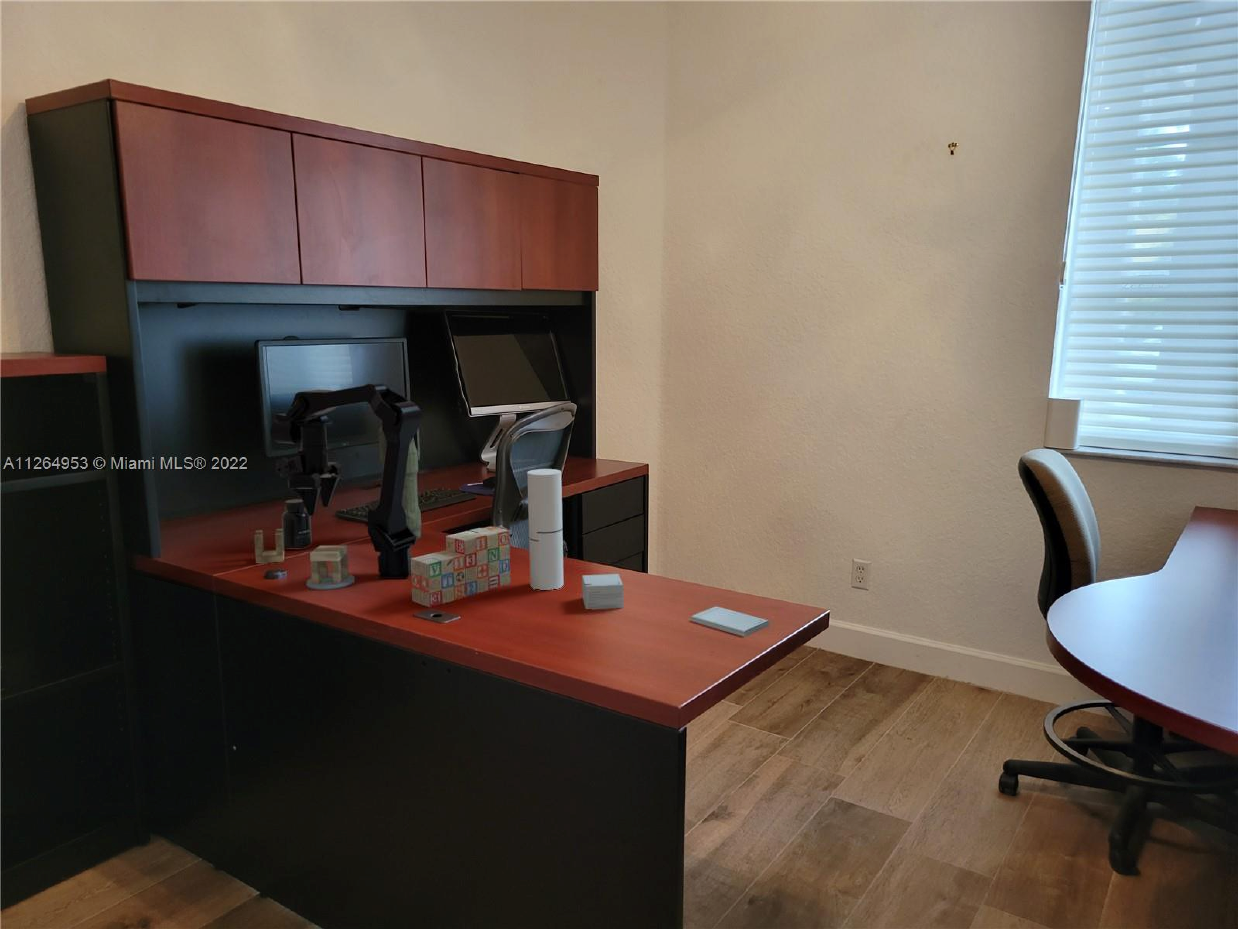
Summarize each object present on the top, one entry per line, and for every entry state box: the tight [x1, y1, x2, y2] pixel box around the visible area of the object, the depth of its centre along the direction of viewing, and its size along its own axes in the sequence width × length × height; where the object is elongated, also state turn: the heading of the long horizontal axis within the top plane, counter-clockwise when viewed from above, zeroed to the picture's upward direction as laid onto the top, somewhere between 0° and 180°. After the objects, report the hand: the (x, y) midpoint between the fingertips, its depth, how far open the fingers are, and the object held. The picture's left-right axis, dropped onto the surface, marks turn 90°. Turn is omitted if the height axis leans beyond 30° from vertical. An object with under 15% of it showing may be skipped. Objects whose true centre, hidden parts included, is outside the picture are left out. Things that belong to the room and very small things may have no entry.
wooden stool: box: [309, 545, 350, 584], centre depth 194 cm, size 6×6×7 cm
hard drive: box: [690, 606, 771, 638], centre depth 168 cm, size 2×8×12 cm
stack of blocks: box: [410, 525, 511, 608], centre depth 187 cm, size 21×6×12 cm, turn 137°
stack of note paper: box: [581, 573, 625, 610], centre depth 180 cm, size 8×8×5 cm
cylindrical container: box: [526, 468, 564, 591], centre depth 190 cm, size 7×7×25 cm
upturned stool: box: [253, 528, 285, 565], centre depth 213 cm, size 6×6×7 cm
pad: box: [306, 573, 355, 591], centre depth 195 cm, size 10×10×1 cm
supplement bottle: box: [281, 498, 313, 549], centre depth 224 cm, size 7×7×12 cm
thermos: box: [377, 425, 422, 542], centre depth 231 cm, size 9×12×35 cm
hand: (318, 511), depth 207 cm, fingers open, 9 cm apart
